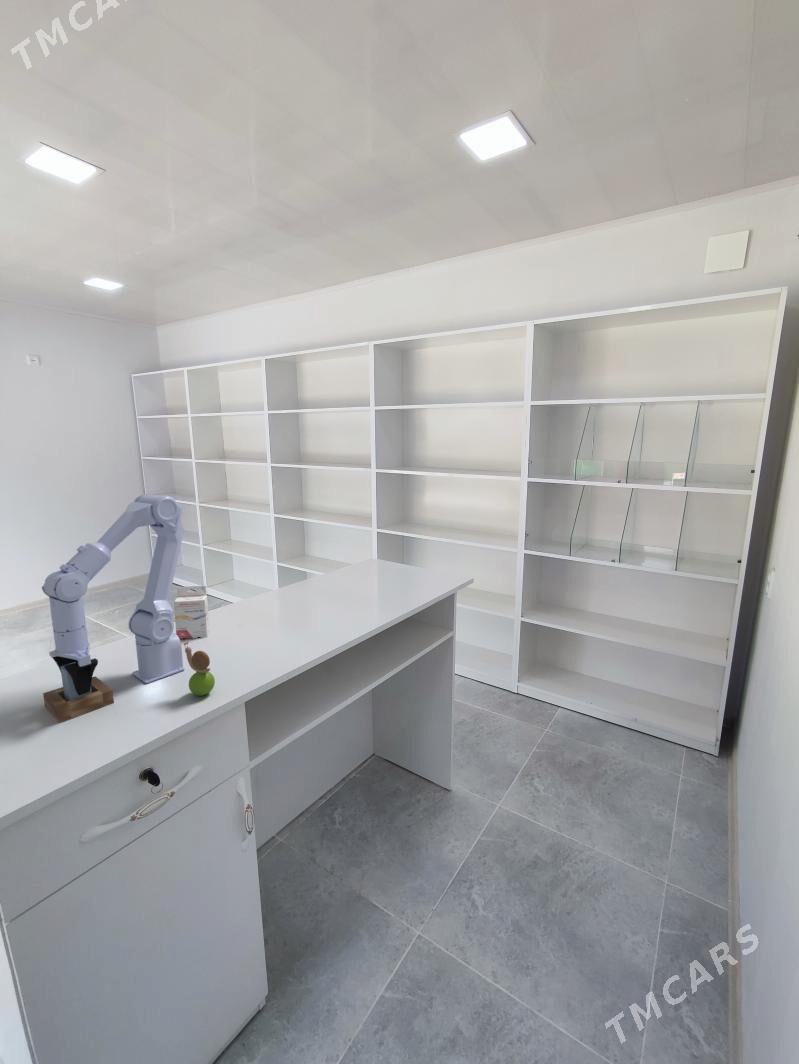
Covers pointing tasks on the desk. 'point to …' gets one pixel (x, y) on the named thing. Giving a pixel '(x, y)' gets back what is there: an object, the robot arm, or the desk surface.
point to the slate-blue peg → (69, 686)
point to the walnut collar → (78, 701)
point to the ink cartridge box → (191, 612)
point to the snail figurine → (199, 672)
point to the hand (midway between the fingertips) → (77, 687)
